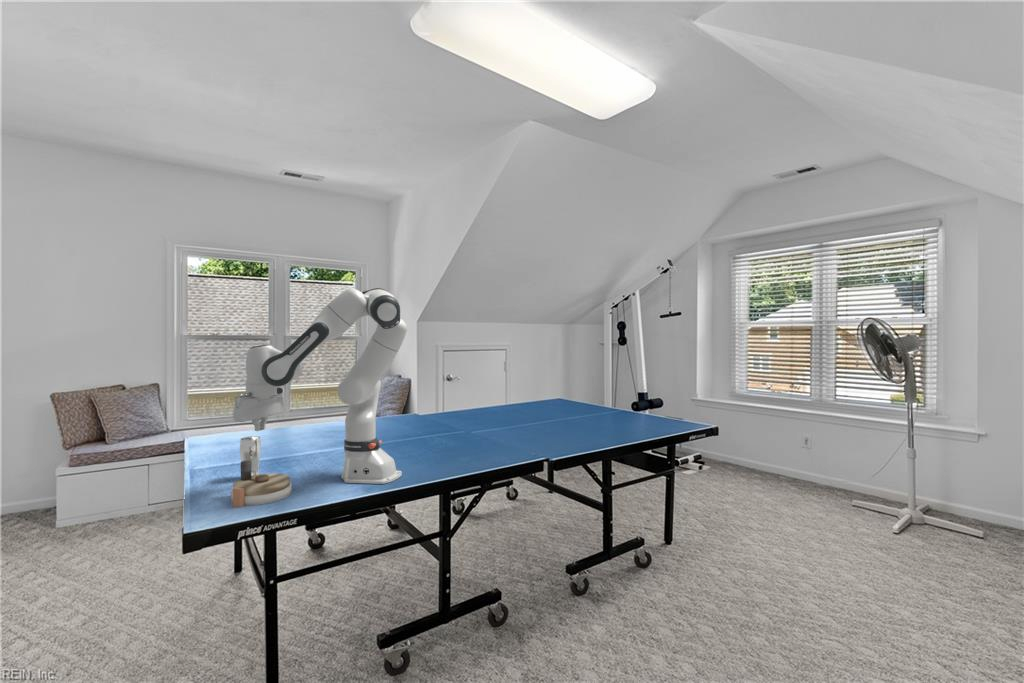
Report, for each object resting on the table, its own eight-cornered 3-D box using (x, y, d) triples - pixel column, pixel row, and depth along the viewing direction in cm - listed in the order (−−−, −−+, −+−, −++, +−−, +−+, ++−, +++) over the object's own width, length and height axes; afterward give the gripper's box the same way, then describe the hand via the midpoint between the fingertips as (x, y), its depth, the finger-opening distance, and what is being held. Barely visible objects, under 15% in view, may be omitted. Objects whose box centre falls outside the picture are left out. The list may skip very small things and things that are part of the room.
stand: (303, 489, 173) (302, 474, 173) (260, 509, 154) (259, 492, 154) (260, 485, 178) (260, 469, 178) (213, 503, 159) (213, 486, 159)
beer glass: (235, 479, 185) (235, 439, 184) (251, 474, 191) (251, 435, 191) (249, 481, 182) (249, 440, 182) (265, 476, 189) (264, 436, 188)
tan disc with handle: (300, 481, 173) (300, 458, 172) (263, 497, 156) (263, 472, 156) (260, 477, 177) (260, 455, 177) (220, 492, 161) (220, 468, 161)
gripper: (243, 395, 163) (243, 437, 164) (287, 388, 183) (287, 425, 183) (228, 394, 165) (228, 435, 165) (273, 387, 185) (273, 424, 185)
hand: (259, 430), depth 174 cm, fingers closed
